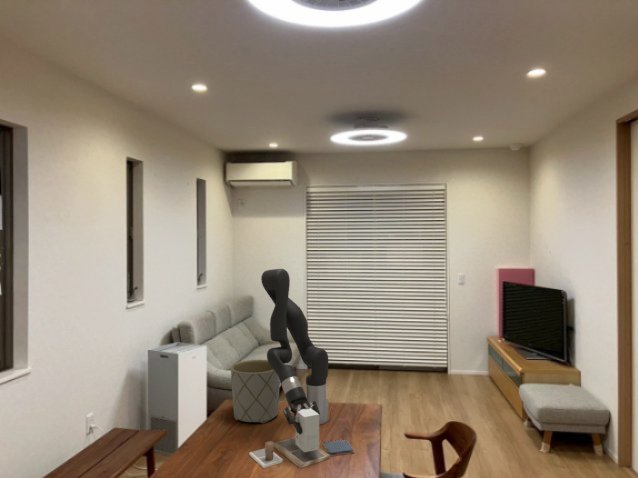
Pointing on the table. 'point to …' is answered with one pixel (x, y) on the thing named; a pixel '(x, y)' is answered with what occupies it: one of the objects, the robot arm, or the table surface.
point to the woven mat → (338, 447)
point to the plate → (266, 456)
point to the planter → (254, 391)
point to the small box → (308, 430)
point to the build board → (300, 453)
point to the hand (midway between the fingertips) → (309, 431)
